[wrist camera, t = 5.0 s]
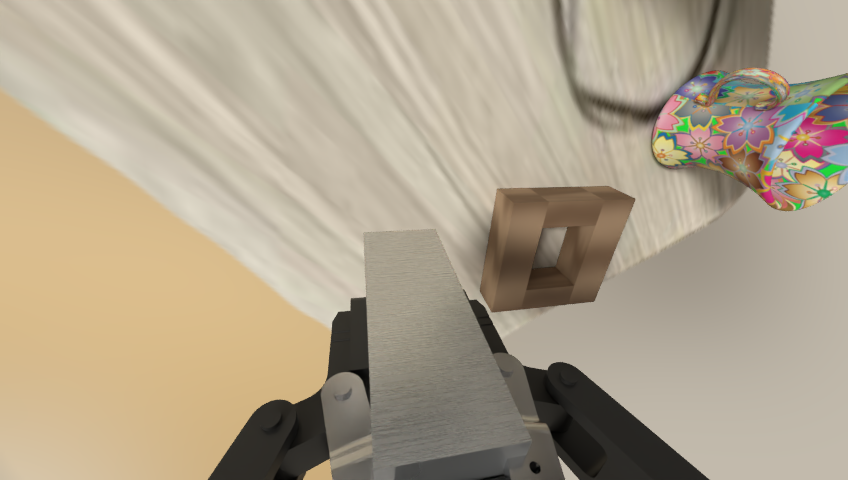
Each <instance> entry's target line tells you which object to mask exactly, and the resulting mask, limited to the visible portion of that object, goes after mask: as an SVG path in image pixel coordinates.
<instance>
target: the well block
mask: <svg viewBox="0 0 848 480" xmlns="http://www.w3.org/2000/svg"><path fill="white" fill-rule="evenodd" d="M634 202H635V199H634V198H632V197H630V196H628V195H626V194H624V193H622V192H620V191H618V190H616V189H613V188H611V187H609V186H594V187H552V188H510V189H497V193H496V199H495V205H494V211H493V217H492V222H491V228H490V234H489V240H488V246H487V252H486V258H485V264H484V269H483V275H482V281H481V287H480V292H481V294H482V296H483V298H484V299H485V301H486V303H487V305H488V307H489V308H490V310H491V312H501V311H511V310H520V309H529V308H539V307H548V306H557V305H566V304H576V303H585V302H594V301H595V298H596V296H597V293H598V291H599V288H600V286H601V283H602V281H603V278H604V276H605V274H606V271H607V269H608V266H609V264H610V261H611V259H612V256H613V254H614V251H615V249H616V246H617V244H618V241H619V239H620V236H621V234H622V231H623V229H624V227H625V224H626V222H627V219H628V217H629V214H630V212H631V209H632V207H633V204H634ZM553 227H568V228H567V231H566V234H565V238H564V241H563V244H562V248H561V251H560V254H559V257H558V261H557V264H556V267H549V268H536V269H532V265H533V262H534V258H535V254H536V250H537V246H538V242H539V239H540V235H541V231H542V228H553Z"/></svg>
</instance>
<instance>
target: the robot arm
mask: <svg viewBox="0 0 848 480" xmlns="http://www.w3.org/2000/svg"><path fill="white" fill-rule="evenodd" d="M463 291H464V293H465V295H466V297H467V299H468V302H469V304H470V306H471V308H472V310H473V313H474V315H475V317H476V319H477V321H478V323H479V326H480V328H481V330H482V332H483V334H484V337H485V339H486V341H487V343H488V345H489V348H490V350H491V352H492V354H493V356H494V358H495V361H496V363H497V365H498V367H499V369H500V372H501V374H502V376H503V378H504V380H505V383H506V385H507V387H508V389H509V391H510V393H511V396H512V398H513V400H514V402H515V404H516V407H517V409H518V411H519V413H520V415H521V418H522V420H523V422H524V424H525V426H526V428H527V431H528V433H529V435H530V437H531V439H532V443H531V445H530V448H529V450H528V452H527V455H524V456H519V457H513V458H508V459H507V461H506V464H505V466H504V469H503V471H504V476H503V477H499V478H494V479H489V480H565V478H564V475H563V472H562V468H561V465H560V462H559V459H558V456H559V457H560V458H561V459H562V460H563V462H564V463H565V464H566V465H567V466H568V467H569V468H570V470H572V472H573V473H574V474H575V475H576V476H577V477H578V479H579V480H709V479H708V478H707V477H706V476H704V475H703V474H702V473H701V472H700V471H698V470H697V469H696V468H695V467H694V466H693V465H691V464H690V463H689V462H688V461H687V460H685V459H684V458H683V457H682V456H681V455H679V454H678V453H677V452H676V451H675V450H674V449H672V448H671V447H670V446H669V445H668V444H666V443H665V442H664V441H663V440H662V439H660V438H659V437H658V436H657V435H656V434H655V433H653V432H652V431H651V430H650V429H649V428H647V427H646V426H645V425H644V424H643V423H641V422H640V421H639V420H638V419H637V418H636V417H634V416H633V415H632V414H631V413H629V412H628V411H627V410H626V409H625V408H624V407H622V406H621V405H620V404H619V403H618V402H616V401H615V400H614V399H613V398H612V397H611V396H609V395H608V394H607V393H606V392H605V391H604V390H602V389H601V388H600V387H599V386H598V385H596V384H595V383H594V382H593V381H592V380H590V379H589V378H588V377H587V376H586V375H584V374H583V373H582V372H581V371H580V370H578V369H577V368H576V367H574V366H572V365H570V364H567V363H563V362H556V363H553V364H551V365H550V366H549V368H548V370H542V369H536V368H530V367H526V366H523V365H522V364H521V362H520V361H519V360H518V359H516V358H515V357H514V356H512V355H510V354H508V352H507V350H506V348H505V346H504V345H503V343H502V340H501V338H500V336H499V334H498V332H497V330H496V328H495V327H494V325H493V323H492V321H491V319H490V318H489V315H488V313H487V311H486V309H485V307H484V306H483V305H482V304H481V303H479V302H478V301H477V300H469V298H468V296H467V294H466V292H465V290H464V289H463ZM328 459H330V465H331V472H332V478H333V480H374V474H373V452H372V427H371V403H370V378H369V353H368V329H367V304H366V297H363V298H351V311H345V312H338V314H337V315H336V317H335V318H334V320H333V322H332V334H331V344H330V355H329V367H328V376H327V379H326V382H325V384H324V385H323V387H322V388H321V389H320V390H319V391H318V392H317V393H316V394H314V395H313V396H311V397H309V398H307V399H305V400H303V401H300V402H298V403H296V404H291V403H290V402H288V401H286V400H274V401H270V402H268V403H266V404H264V405H262V406H261V407H260V408H258V409H257V410H256V411H255V412H254V413H253V414H252V416H251V417H250V419H249V420H248V422H247V423H246V425H245V426H244V427H243V429H242V430H241V432H240V433H239V435H238V436H237V438H236V439H235V441H234V442H233V443H232V445H231V446H230V448H229V449H228V451H227V452H226V454H225V455H224V457H223V458H222V460H221V461H220V463H219V464H218V466H217V467H216V468H215V470H214V472H213V473H212V474H211V476H210V477H209V479H208V480H303V478H304V476H305V474H306V471H308V470H310V469H311V468H313V467H315V466H317V465H319V464H321V463H322V462H324V461H326V460H328Z"/></svg>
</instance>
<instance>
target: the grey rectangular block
mask: <svg viewBox="0 0 848 480" xmlns="http://www.w3.org/2000/svg"><path fill="white" fill-rule="evenodd" d="M364 255H365V279H366V304H367V329H368V353H369V378H370V403H371V427H372V452H373V474H374V480H489V479H494V478H499V477H503V476H504V471H503V469H504V466H505V464H506V461H507V459H508V458H513V457H519V456H524V455H527V452H528V450H529V448H530V445H531V443H532V439H531V437H530V435H529V433H528V431H527V428H526V426H525V424H524V422H523V420H522V418H521V415H520V413H519V411H518V409H517V407H516V404H515V402H514V400H513V398H512V396H511V393H510V391H509V389H508V387H507V385H506V383H505V380H504V378H503V376H502V374H501V372H500V369H499V367H498V365H497V363H496V361H495V358H494V356H493V354H492V352H491V350H490V348H489V345H488V343H487V341H486V339H485V337H484V334H483V332H482V330H481V328H480V326H479V323H478V321H477V319H476V317H475V315H474V313H473V310H472V308H471V306H470V304H469V302H468V299H467V297H466V295H465V293H464V291H463V288H462V286H461V284H460V282H459V280H458V277H457V275H456V273H455V271H454V269H453V267H452V264H451V262H450V260H449V258H448V256H447V253H446V251H445V249H444V247H443V245H442V242H441V240H440V238H439V236H438V234H437V232H436V229H428V230H407V231H386V232H365V233H364Z"/></svg>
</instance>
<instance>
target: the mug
mask: <svg viewBox="0 0 848 480" xmlns="http://www.w3.org/2000/svg"><path fill="white" fill-rule="evenodd" d="M743 79H747V80H754V81H758V82H760V83H763V84H765V85H758V84H752V83H747V82H744V81H741V80H743ZM652 148H653V152H654V155H655V157H656V159H657V160H658V161H659V162H660V163H661V164H662V165H664V166H666V167H668V168H675V169H679V168H686V167H700V168H706V169H711V170H715V171H718V172H721V173H723V174H726V175H728V176H730V177H732V178H734V179H736V180H738V181H740V182H741V183H743V184H744V185H746V186H747V187H749V188H750V189H752V190H753V191H754V192H755V193H757V194H758V195H759V196H760V197H761V198H762V199H763V200H764V201H765V202H766V203H767V204H768V205H769V206H771V207H772V208H775V209H777V210H782V211H794V210H800V209H803V208H806V207H809V206H811V205H814V204H816V203H818V202H820V201H822V200H824V199H826V198H828V197H829V196H831V195H832V194H834V193H835V192H837V191H838V190H840V189H841V188H842V187H844V186H845V185H846V184H847V183H848V73H846V74H843V75H839V76H835V77H831V78H826V79H822V80H817V81H811V82H805V83H799V84H788V82H787V81H786V80H785V79H784V78H783V77H782V76H780V75H779V74H777V73H775V72H773V71H771V70H768V69H763V68H745V69H741V70H737V71H735V72H732V73H728V72H724V71H711V72H707V73H703V74H701V75H698V76H696V77H695V78H693V79H691V80H690V81H688V82H687V83H685V84H684V85H683V86H682V87H680V88H679V89H678V90H677V91H676V92H675V93H674V94H673V95H672V97H671V98H670V99H669V100H668V102H667V103H666V104H665V106H664V107H663V109H662V111H661V112H660V114H659V116H658V118H657V121H656V124H655V126H654V130H653V135H652Z"/></svg>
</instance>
